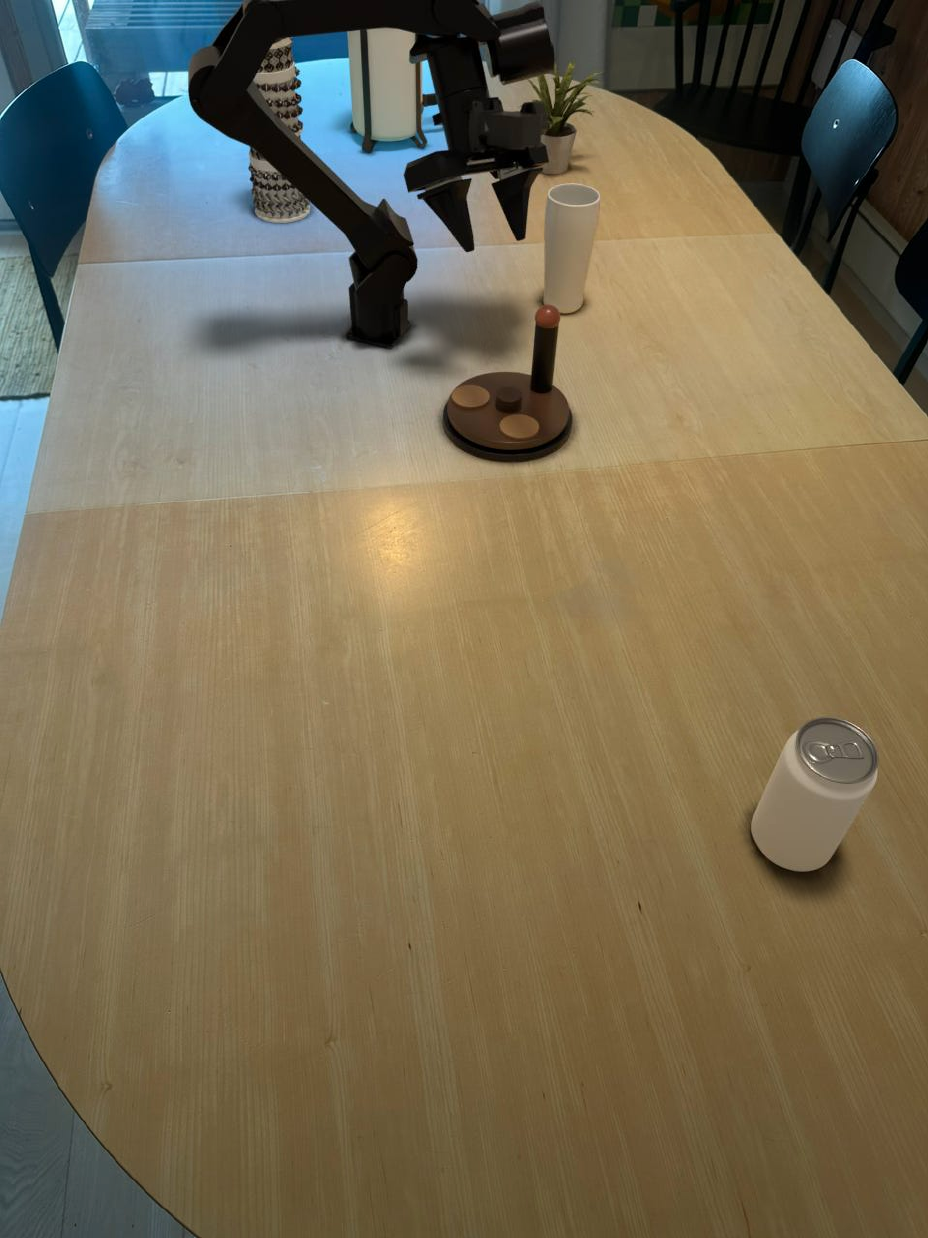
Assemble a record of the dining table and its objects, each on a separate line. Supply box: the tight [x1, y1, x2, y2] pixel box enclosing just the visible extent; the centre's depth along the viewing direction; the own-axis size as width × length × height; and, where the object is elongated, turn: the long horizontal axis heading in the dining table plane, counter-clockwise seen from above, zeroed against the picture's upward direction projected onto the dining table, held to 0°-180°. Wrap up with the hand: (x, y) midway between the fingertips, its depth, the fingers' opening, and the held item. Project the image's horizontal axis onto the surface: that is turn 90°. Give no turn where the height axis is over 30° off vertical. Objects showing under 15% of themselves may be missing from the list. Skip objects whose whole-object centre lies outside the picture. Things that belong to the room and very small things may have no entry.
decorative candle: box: [247, 37, 311, 224], centre depth 139 cm, size 9×9×25 cm
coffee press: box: [346, 28, 461, 154], centre depth 158 cm, size 17×16×30 cm
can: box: [750, 716, 880, 872], centre depth 72 cm, size 6×6×12 cm
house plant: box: [517, 58, 605, 176], centre depth 154 cm, size 14×14×16 cm
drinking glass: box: [542, 182, 601, 314], centre depth 126 cm, size 7×7×15 cm
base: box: [442, 400, 574, 463], centre depth 112 cm, size 15×15×1 cm
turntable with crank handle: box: [447, 304, 570, 450], centre depth 108 cm, size 14×14×11 cm
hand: (496, 245), depth 110 cm, fingers open, 9 cm apart
